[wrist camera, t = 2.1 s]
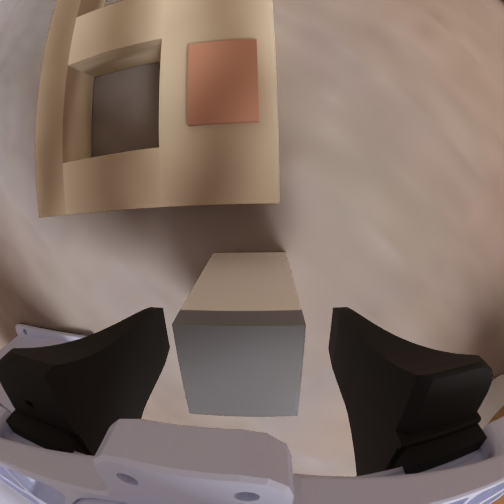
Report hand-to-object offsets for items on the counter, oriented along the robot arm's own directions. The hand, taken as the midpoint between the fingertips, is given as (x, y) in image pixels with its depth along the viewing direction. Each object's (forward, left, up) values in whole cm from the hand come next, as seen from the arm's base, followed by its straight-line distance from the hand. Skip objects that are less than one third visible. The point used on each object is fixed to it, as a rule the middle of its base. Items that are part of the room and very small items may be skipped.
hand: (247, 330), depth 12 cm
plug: (0, 0, -5) cm, 5 cm away
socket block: (-5, +15, -5) cm, 17 cm away
